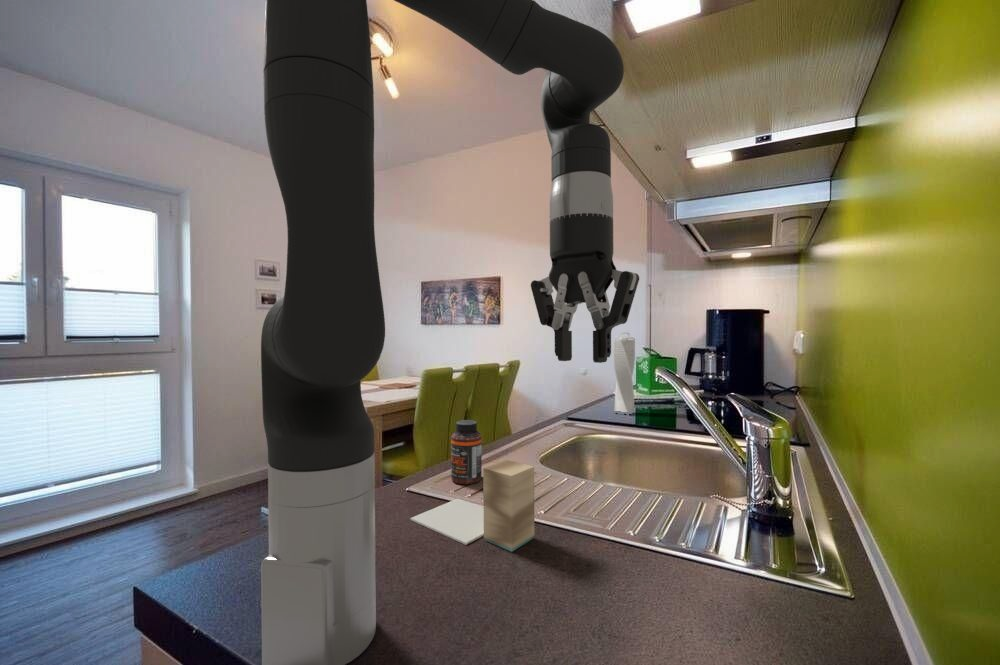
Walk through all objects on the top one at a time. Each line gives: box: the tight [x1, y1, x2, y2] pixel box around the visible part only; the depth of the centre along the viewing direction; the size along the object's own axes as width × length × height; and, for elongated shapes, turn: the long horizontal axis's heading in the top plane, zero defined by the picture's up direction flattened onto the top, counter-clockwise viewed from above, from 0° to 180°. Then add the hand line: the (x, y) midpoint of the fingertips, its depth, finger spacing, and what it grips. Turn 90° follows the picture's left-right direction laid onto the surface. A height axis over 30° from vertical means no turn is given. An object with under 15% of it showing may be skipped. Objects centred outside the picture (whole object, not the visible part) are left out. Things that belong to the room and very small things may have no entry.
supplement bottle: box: [450, 419, 483, 485], centre depth 83 cm, size 6×6×11 cm
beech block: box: [482, 459, 535, 552], centre depth 59 cm, size 5×5×10 cm
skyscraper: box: [612, 332, 636, 412], centre depth 148 cm, size 8×8×28 cm
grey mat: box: [410, 498, 484, 546], centre depth 66 cm, size 12×10×1 cm
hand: (581, 360), depth 52 cm, fingers open, 4 cm apart
